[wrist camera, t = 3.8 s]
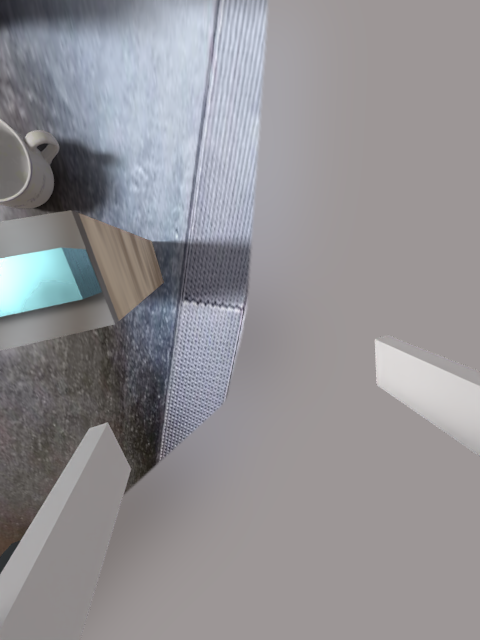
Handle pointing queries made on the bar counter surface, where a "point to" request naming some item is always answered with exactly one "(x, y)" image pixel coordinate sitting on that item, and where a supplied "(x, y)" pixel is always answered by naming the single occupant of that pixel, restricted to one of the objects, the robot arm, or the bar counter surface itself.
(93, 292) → the teal and grey bar
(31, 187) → the teacup
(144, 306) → the bar counter surface
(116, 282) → the pedestal
